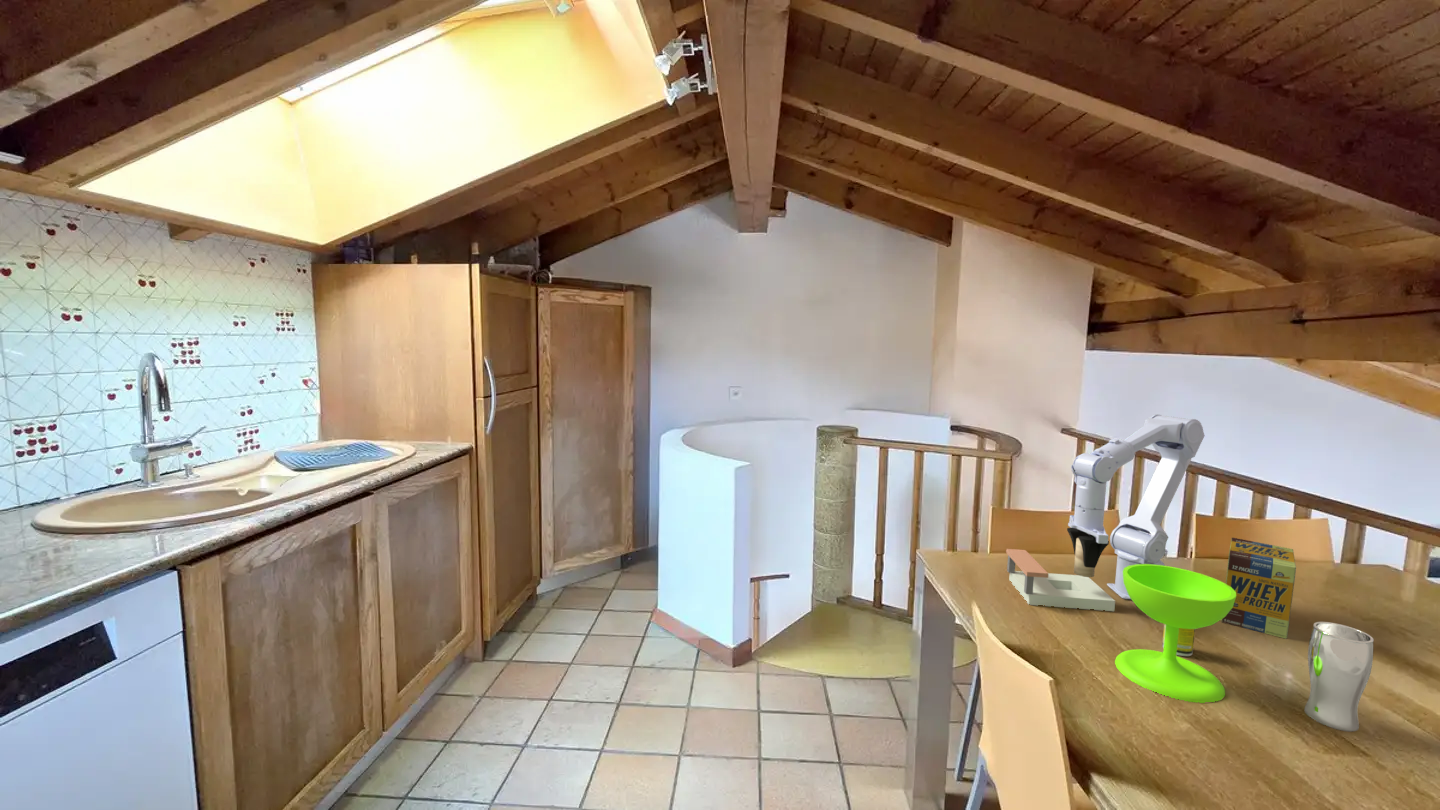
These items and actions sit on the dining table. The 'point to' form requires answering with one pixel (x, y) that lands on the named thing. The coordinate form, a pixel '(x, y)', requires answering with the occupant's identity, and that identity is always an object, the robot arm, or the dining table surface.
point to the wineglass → (1174, 629)
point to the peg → (1081, 562)
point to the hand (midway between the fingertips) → (1085, 563)
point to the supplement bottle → (1183, 641)
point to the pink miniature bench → (1025, 567)
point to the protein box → (1261, 586)
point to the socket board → (1064, 592)
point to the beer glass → (1337, 674)
